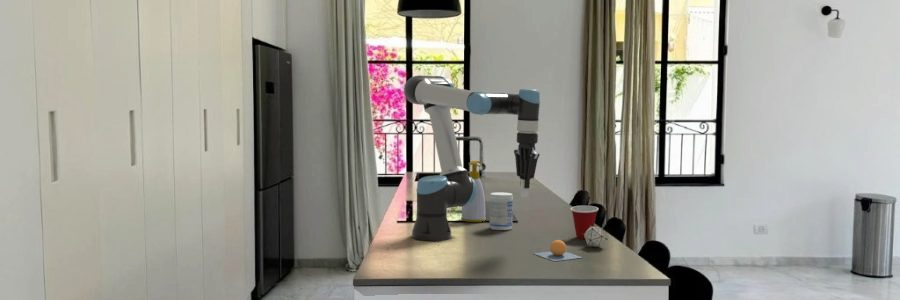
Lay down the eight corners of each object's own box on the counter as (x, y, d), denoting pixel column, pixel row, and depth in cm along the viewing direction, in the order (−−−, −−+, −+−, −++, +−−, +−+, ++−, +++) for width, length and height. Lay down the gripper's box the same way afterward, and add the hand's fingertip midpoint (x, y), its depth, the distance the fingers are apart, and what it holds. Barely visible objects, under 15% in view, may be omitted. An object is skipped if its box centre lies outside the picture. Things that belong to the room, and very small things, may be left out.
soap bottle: (491, 219, 302) (492, 161, 300) (478, 223, 292) (479, 163, 290) (469, 217, 308) (470, 159, 306) (456, 220, 298) (456, 161, 296)
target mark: (533, 254, 237) (533, 253, 237) (561, 250, 242) (561, 250, 242) (553, 261, 226) (553, 260, 226) (582, 258, 232) (582, 257, 232)
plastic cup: (564, 237, 265) (564, 207, 264) (579, 233, 273) (579, 204, 272) (588, 242, 258) (589, 210, 257) (602, 238, 266) (603, 207, 265)
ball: (548, 257, 235) (545, 242, 236) (561, 256, 237) (558, 240, 239) (557, 255, 230) (554, 239, 231) (570, 253, 232) (567, 238, 234)
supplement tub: (512, 231, 277) (513, 195, 276) (489, 230, 277) (489, 195, 276) (511, 226, 286) (512, 192, 285) (489, 226, 287) (490, 191, 286)
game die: (594, 258, 247) (588, 239, 242) (580, 245, 254) (575, 227, 248) (614, 245, 249) (609, 226, 243) (600, 233, 256) (594, 214, 250)
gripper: (546, 133, 240) (543, 199, 243) (525, 130, 252) (522, 193, 254) (529, 133, 237) (526, 200, 239) (508, 130, 248) (505, 194, 251)
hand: (524, 196), depth 247 cm, fingers closed
